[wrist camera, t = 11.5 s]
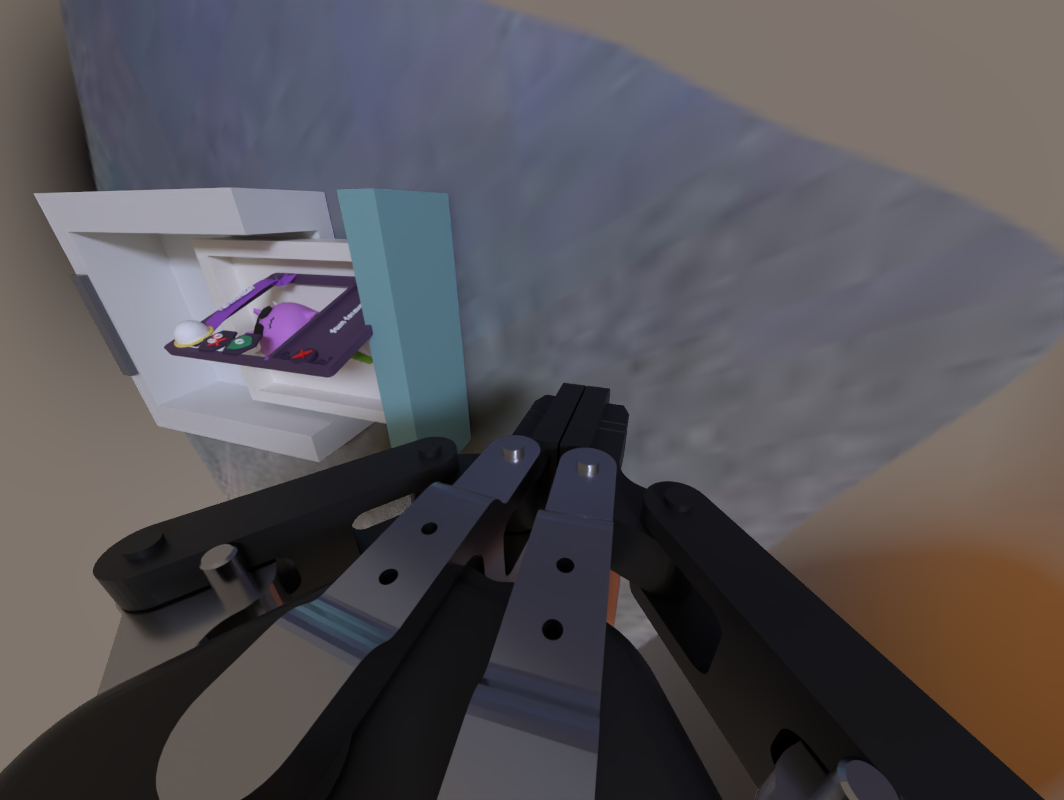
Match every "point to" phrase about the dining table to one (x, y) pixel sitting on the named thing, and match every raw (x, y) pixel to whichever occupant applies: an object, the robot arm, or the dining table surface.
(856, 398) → the dining table surface
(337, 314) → the purple toy kit
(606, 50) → the dining table surface
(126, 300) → the open box
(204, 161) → the dining table surface
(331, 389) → the drawer
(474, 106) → the dining table surface
